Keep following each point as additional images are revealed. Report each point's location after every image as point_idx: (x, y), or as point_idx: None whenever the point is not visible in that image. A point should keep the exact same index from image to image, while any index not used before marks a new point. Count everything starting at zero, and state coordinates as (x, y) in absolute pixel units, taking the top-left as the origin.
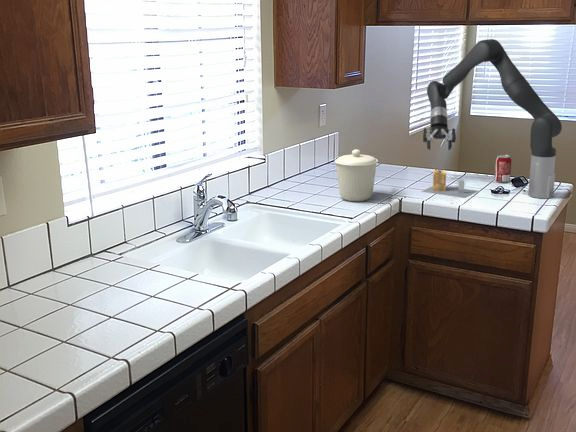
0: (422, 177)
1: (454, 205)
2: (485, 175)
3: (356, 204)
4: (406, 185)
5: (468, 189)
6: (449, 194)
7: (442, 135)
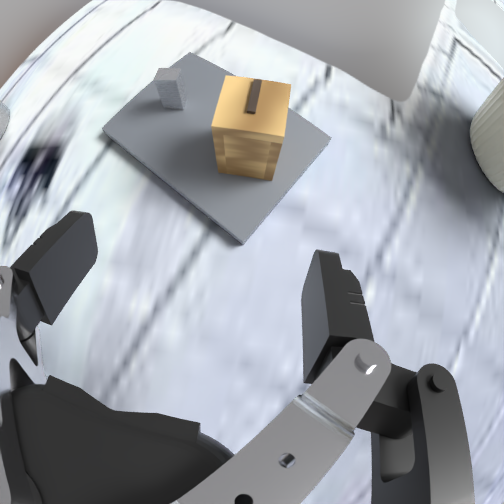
0: None
1: (238, 35)
2: None
3: None
4: None
5: (127, 146)
6: None
7: (47, 394)
